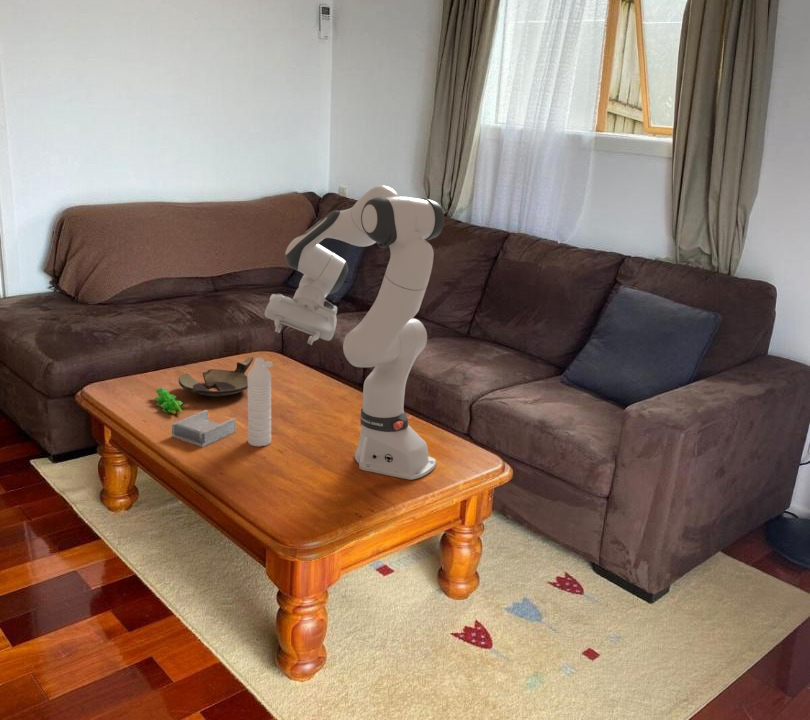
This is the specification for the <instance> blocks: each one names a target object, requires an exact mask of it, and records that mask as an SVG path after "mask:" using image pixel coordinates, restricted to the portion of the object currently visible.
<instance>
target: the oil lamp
mask: <svg viewBox="0 0 810 720" xmlns="http://www.w3.org/2000/svg"><path fill="white" fill-rule="evenodd" d="M253 360H254V356H249V357H248V358H246V359H245V360H244V361H238V362H236V368H235V369H234V370H227V369H213V368H211V369H208V370H207V371H204V372H202V377H203V380H204V383H205V386H204V385H203V384H201V383H200V382H199V381H197V380H196V379H194V377H192V376H191V375H190V374H189V373H184V374H182V375H181V376H179V377H178V385H179V386H180V387H181V388H182V389H183V391H188V392H191V393H194V394H198V395H201V396H206V397H215V398H216V397H227V396H231V395H235V394H238V393H240V392H242V391H246V390H248V380H247V376H248V375H246V372H247V370H248V368H249V367H250V366H251V365H252V363H253V362H254V361H253ZM214 387H216V388H217V390H210V388H214Z"/></svg>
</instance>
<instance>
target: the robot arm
mask: <svg viewBox="0 0 810 720" xmlns="http://www.w3.org/2000/svg"><path fill="white" fill-rule="evenodd" d="M444 224H445V217H444V211H443V208H442V206H441V205H440V204H439V203H438V202H437V201H435V200H432V199H428V198H424V197H422V198H419V197H418V198H417V197H411V196H410V197H409V196H404V195H403V196H400V195H399V193H397V191H396V190H394V189H393V188H392V187H390V186H387V185H384V184H383V185H382V184H380V185H375V186H373V187H372V188H370V189H369V190H368V191H366V192H365V193H364V194H363V195H362V196H361V197H359V199H358V200H356V202H355V204H353V206H352V207H350V208H347V209H343V210H337V209H336V210H335V209H334V210H332V211H331V212H329V213H328V214H326V215H325V216H323V217H322V218H321V219H319V221H317V222H316V223H314V225H312V226H311V227H310V228H308V229H307V230H305V231H304V232H303V233H302V234H299V235H298V236H297V237H295V238H293V240H292V241H290V243H289V244H288V246H287V247H286V250H285V253H284V257H285V260H286V263H287V266H288V267H289V268H290V269H292V270H295V271H297V272H300V273H302V274H303V276H301V279H300V281H299V284H298V288H296V291H295V293H294V295H293V297H289V296H287V295H284V294H281V293H272V294H271V295H270V297H269V299H268V300H269V302H268V303H267V304H266V307H265V310H264V312H263V313H264V316H265V318H266V319H270V320H271V321H274V322H273V323H274V327H275V329H274V332H276V333H281V331H282V328H283V325H285V326H287V327H290V328H293V329H295V330H298V331H301V332H302V333H306V334H309V337H308V340H307V342H306V344H308V345H311V346H312V345H313V343H314V342H315V341H317V340H319V339H322V340H325V341H328V342H329V341H331V340H332V339H333V337H334V334H335V331H336V327H337V321H338V320H337V319H338V317H337V313H338V307H337V306H336V305H334V304H332V302H329V300H327V299H326V298H327V296H329V295H332V294H334V293H337V292H338V291H339V290H340V289H341V288H342V286H343V285H344V283H345V281H346V278H347V275H348V273H349V266H348V263H347V260H345V259H344V258H343V257H341V256H339V255H338V254H336V252H334V251H331V250H330V249H328V248H327V247H325V246H323V245H321V244H320V243H321V242H323V240H325V239H334V240H338V241H342V242H344V243H347V244H349V245H352V246H355V247H363V248H364V247H369V246H372V245H374V244H376V245H377V246H378V247H380V248H381V249H386V248H389V252H390V257H389V261H388V264H387V267H386V269H385V270H386V271H385V272H384V275H383V276H384V277H383V279H382V282H381V286H380V288H379V291H378V294H377V296H376V298H375V301H374V302H373V303H372V306H371V307H370V309H369V310H368V311H367V313H366V315H365V316H363V318H362V320H361V321H360V322H359V323H358V324H357V325H356V326H355V327H354V328H353V329H352V330H350V331H348V333H346V335H345V337H344V339H343V345H342V349H343V350H342V351H343V354H344V356H345V359H346V361H348V363H349V364H350V365H352V366H353V367H356V368H373V370H372V371H371V372H370V373H369V375H368V376H367V377H366V378H365V380H364V382H363V390H362V408H361V409H360V419H359V420H360V421H359V422H360V425H361V427H360V434H359V440H358V445H357V449H356V451H355V454H354V460H355V461H356V463H358V468H359V469H360V470H362V471H366V472H370V473H375V474H380V475H385V476H390V477H393V478H394V477H396V478H400V479H405V480H416V479H419V478H423V477H425V476H426V475H428V474H429V473H431V472H432V471H433V470H434V469H435V468H436V465H437V460H436V459H435V458H434V457H431V456H430V455H429V449H428V444H427V442H426V441H425V440H424V439H423V438H422V437H421V436H420V435H419V434H418V433H417V432H416V431H415V430H414V428H412V427H411V426H410V425H409V422H410V420H412V414H411V415H409V416H407V415H406V411H405V410H404V405H405V404H404V403H405V393H406V385H407V380H408V378H409V374H410V372H411V370H412V367H413V365H414V363H415V361H416V359H417V357H418V356H419V355H420V353H421V352H423V350H424V349H425V348H426V346H427V342H428V333H427V329H426V328H425V326H424V324H423V322H422V321H420V320H419V319H417V318H414V317H415V316H416V315H417V314H418V312H419V311H420V308H421V306H422V302H423V299H424V297H425V294H426V290H427V287H428V285H429V281H430V277H431V274H432V269H433V264H434V255H435V253H434V249H433V246H432V244H430V243H429V240H432V239H436V238H437V237H438V236H439V235H440V234H441V232H442V231H443V228H444Z"/></svg>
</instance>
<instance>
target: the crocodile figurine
mask: <svg viewBox="0 0 810 720" xmlns="http://www.w3.org/2000/svg"><path fill="white" fill-rule="evenodd" d="M155 392H156V393H157V396H156V397H155V398H154V400H155V402H157V403H156V406H158V405H159V406H158V407H161V408H163V409H162V412H163V411H164V412H163V413H171V414H174V415H176V412H178V413H183V410H182V408H181V406H182V405H183V404H184V403H183V402H182V401H181V400H176V399H177V395H175V394H170V392H169V391H168V390H167V389H166V388H164V387H160V388H157V389H156V390H155Z"/></svg>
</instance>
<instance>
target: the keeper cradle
mask: <svg viewBox="0 0 810 720" xmlns="http://www.w3.org/2000/svg"><path fill="white" fill-rule="evenodd" d="M234 433H236V418H234V417H232V418H230V419H228V420H225V421H223V422H221V423H218V422H217V421H212V420H209V410H208V409H203V410H201V411H198V412H197V413H195V414H192V415H189V416H186V417H185V418H182V419H180V420H177V421H175V422H173V423H171V437H172V438H173V437H174V439H176V438H177V439H176V440H179V439H180V441H182V440H184V441H183V442H185V441H186V443H188V442H189V443H188V444H191V445H194V444H195V445H194V446H197V445H198V447H200V448H204V447H206V446H208V445H211V444H212V443H214V442H216V441H219V440H221V439H223V438H225V437H228V436H229V435H232V434H234Z"/></svg>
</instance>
